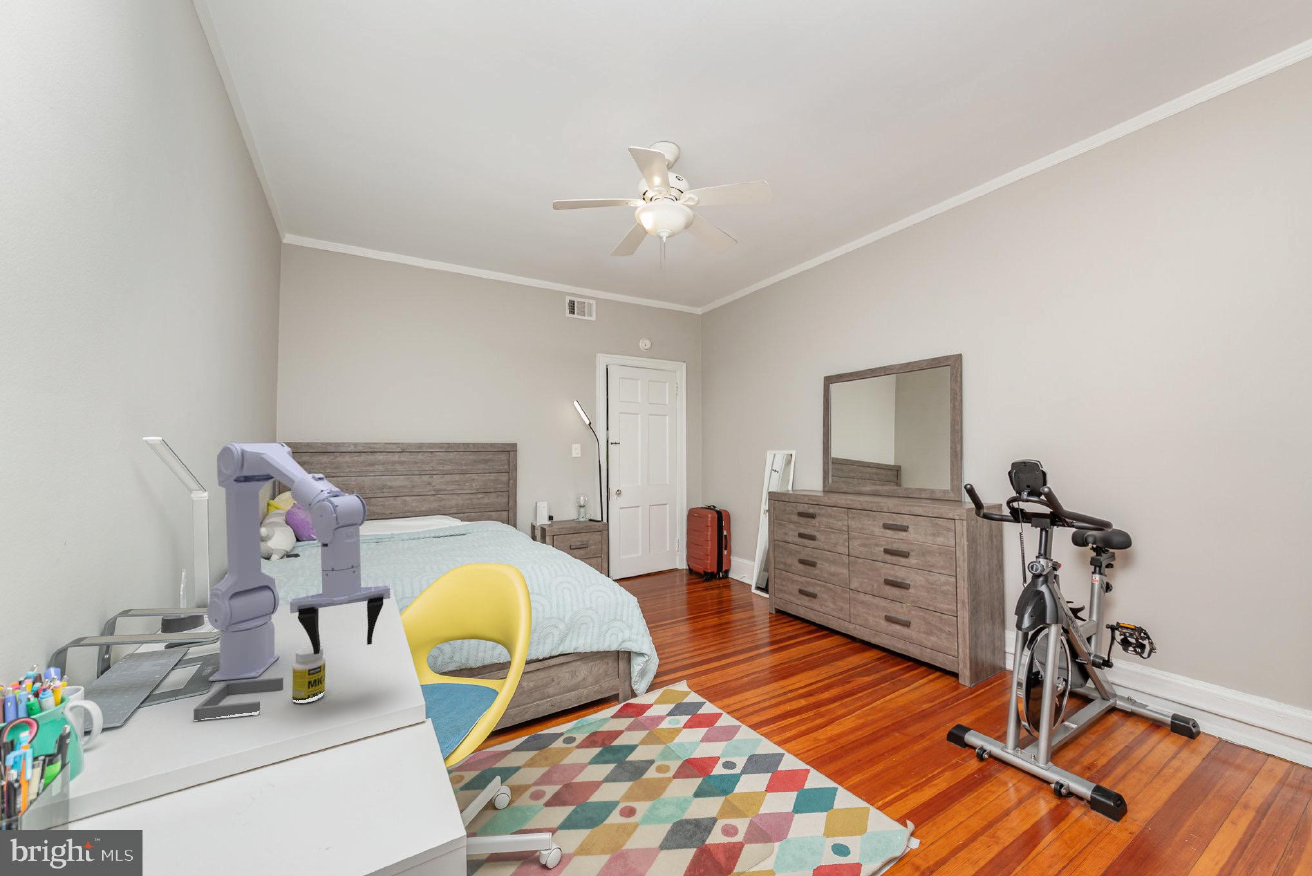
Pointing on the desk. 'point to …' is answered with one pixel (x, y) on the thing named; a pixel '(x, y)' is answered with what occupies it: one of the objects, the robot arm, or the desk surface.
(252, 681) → the cradle
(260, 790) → the desk surface
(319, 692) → the supplement bottle
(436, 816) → the desk surface
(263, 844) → the desk surface
